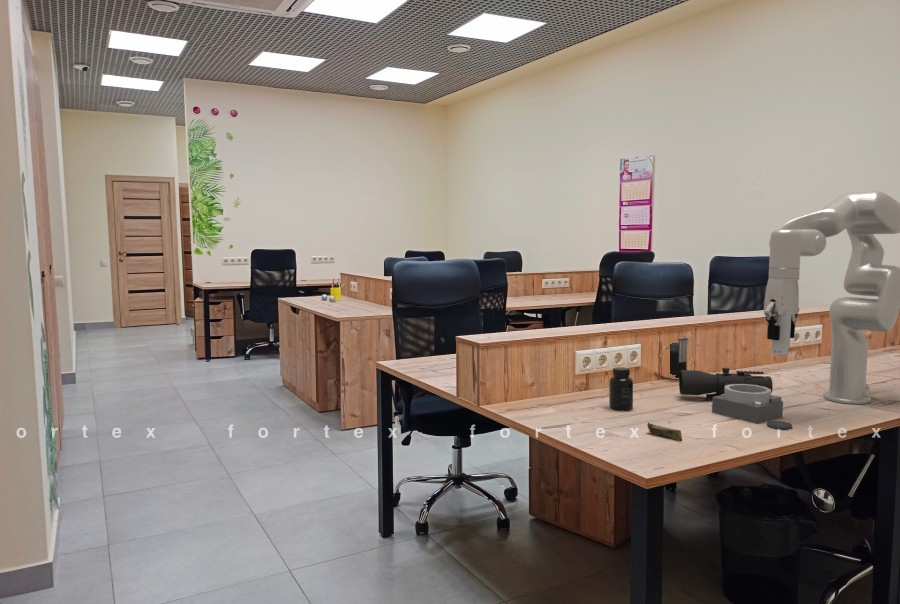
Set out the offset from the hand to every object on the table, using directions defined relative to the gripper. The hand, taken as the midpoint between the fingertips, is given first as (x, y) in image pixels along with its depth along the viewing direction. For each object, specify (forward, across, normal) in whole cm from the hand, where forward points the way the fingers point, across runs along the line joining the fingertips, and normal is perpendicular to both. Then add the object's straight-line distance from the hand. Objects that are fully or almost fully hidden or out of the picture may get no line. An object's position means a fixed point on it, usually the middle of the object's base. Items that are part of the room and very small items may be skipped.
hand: (780, 338), depth 182 cm
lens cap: (+23, +9, +6) cm, 25 cm away
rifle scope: (+22, -6, -20) cm, 30 cm away
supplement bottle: (+23, +28, -32) cm, 48 cm away
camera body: (+22, +5, -6) cm, 24 cm away
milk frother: (+22, -23, -46) cm, 56 cm away
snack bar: (+23, +41, -7) cm, 48 cm away
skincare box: (+4, 0, 0) cm, 4 cm away
